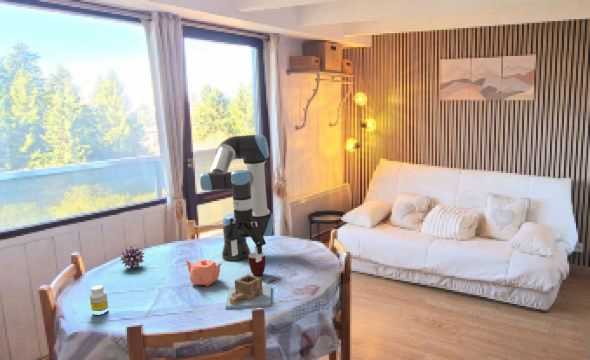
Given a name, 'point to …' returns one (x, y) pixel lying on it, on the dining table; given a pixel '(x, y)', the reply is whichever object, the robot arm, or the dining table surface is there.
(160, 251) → the dining table surface
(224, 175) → the robot arm
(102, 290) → the pill bottle
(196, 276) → the teapot
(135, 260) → the spiky ball
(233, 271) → the dining table surface
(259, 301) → the post plate
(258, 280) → the tan hollow block
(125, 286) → the dining table surface
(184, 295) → the dining table surface
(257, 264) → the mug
